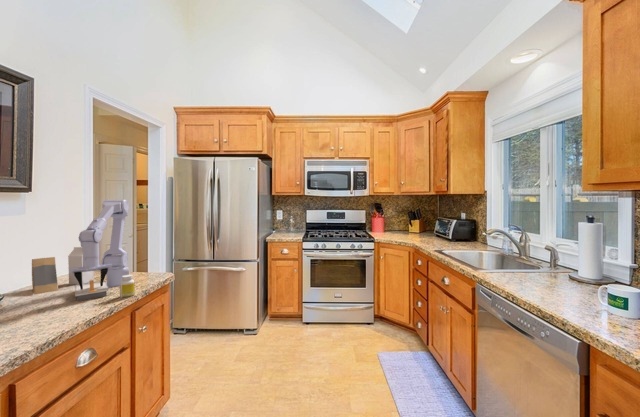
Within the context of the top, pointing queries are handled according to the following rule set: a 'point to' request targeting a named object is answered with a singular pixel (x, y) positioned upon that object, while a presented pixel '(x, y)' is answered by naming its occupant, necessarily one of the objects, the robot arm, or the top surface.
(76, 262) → the milk carton
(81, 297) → the tub
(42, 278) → the sandwich container
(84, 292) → the lid
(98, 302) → the top surface
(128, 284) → the supplement bottle
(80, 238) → the robot arm
